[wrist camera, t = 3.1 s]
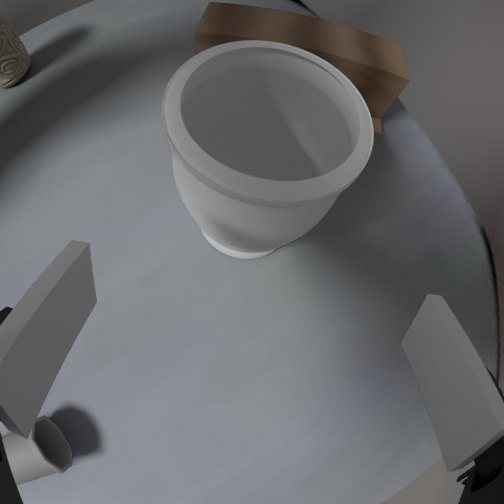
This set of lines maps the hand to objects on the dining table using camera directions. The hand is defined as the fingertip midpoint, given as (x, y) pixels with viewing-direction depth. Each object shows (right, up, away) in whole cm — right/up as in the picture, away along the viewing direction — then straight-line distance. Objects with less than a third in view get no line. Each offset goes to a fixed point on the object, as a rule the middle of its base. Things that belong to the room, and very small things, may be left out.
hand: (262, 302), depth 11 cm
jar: (-1, +5, +17) cm, 18 cm away
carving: (-34, +27, +19) cm, 47 cm away
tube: (-28, -21, +8) cm, 36 cm away
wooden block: (+4, +20, +21) cm, 29 cm away
